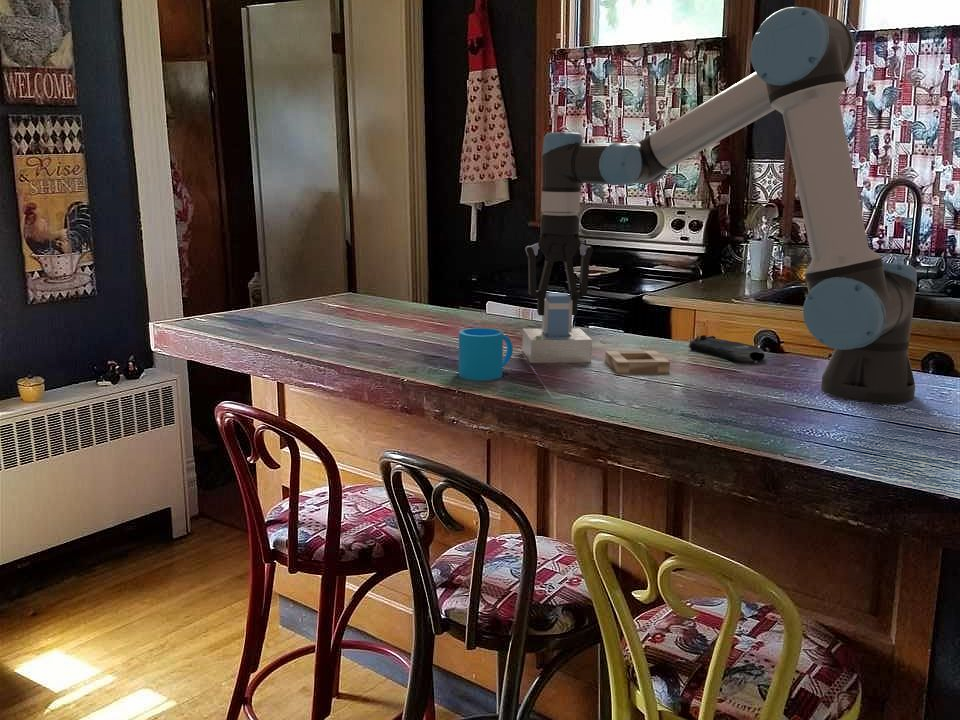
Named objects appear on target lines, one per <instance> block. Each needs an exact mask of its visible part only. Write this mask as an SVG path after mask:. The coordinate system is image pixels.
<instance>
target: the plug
mask: <svg viewBox="0 0 960 720" xmlns="http://www.w3.org/2000/svg"><path fill="white" fill-rule="evenodd" d="M545 298H547V299H548V300H549V303H548V333H545V337H568V325H569V304H570V303H569V298H570V294H568V293H567V292H549V293H548V292H546V296H545Z"/></svg>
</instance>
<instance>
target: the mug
mask: <svg viewBox="0 0 960 720" xmlns="http://www.w3.org/2000/svg"><path fill="white" fill-rule="evenodd" d="M504 341H505V344H506V353H505V355H504V357H503V353H504V352H503V351H504V348H503V347H504ZM513 347H514V346H513V343H512V341H511V339H510V338H509V337H508V336H507V335H506V334H504V331H502V330H499V329H497V328H496V329H495V328H488V327H472V328H471V327H470V328H465V329H461V330H459V331H458V376H459V377H460V378H462V379H466V380H470V381H471V380H473V381H489V380H497V379H500V378H502V377H503V367H505V366H507V364H508V363H509V362H510V360H511V358H512V355H513Z"/></svg>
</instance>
